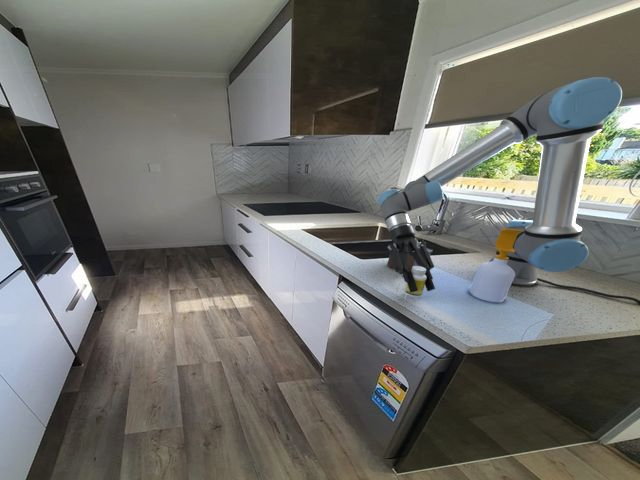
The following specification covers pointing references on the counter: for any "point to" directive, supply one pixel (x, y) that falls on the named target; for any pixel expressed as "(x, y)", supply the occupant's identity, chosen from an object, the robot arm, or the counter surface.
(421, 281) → the supplement bottle
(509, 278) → the soap bottle
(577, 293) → the counter surface
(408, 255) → the box
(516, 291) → the counter surface
